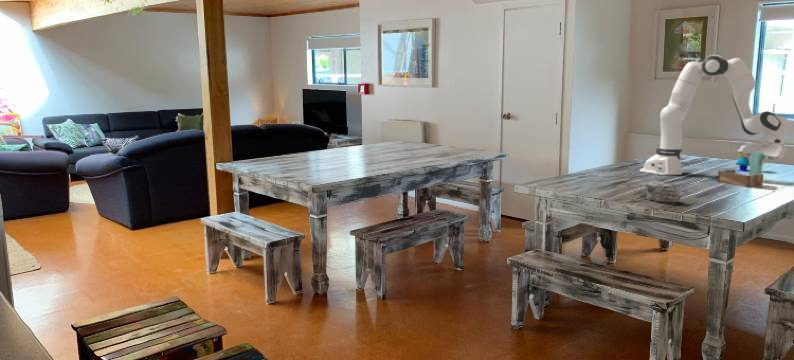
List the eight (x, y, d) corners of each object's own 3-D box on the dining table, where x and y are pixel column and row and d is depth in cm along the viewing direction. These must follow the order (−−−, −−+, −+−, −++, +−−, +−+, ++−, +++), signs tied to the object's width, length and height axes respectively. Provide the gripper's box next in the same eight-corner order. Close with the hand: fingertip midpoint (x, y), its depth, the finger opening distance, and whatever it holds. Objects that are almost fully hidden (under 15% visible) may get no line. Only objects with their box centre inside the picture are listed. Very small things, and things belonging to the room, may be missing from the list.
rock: (639, 199, 287) (644, 178, 284) (646, 195, 293) (651, 175, 290) (673, 210, 278) (679, 189, 274) (680, 206, 284) (685, 185, 280)
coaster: (755, 189, 310) (755, 187, 310) (759, 187, 317) (759, 185, 317) (773, 191, 305) (773, 189, 305) (777, 189, 312) (777, 187, 311)
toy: (754, 171, 360) (757, 146, 358) (737, 171, 362) (740, 145, 359) (749, 169, 369) (751, 144, 366) (733, 169, 370) (735, 143, 367)
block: (753, 174, 330) (756, 152, 327) (761, 175, 326) (763, 153, 324) (749, 175, 328) (751, 152, 325) (756, 176, 324) (758, 153, 322)
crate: (731, 181, 332) (733, 169, 331) (762, 186, 318) (763, 174, 316) (717, 183, 326) (718, 171, 325) (747, 189, 312) (748, 176, 311)
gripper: (747, 137, 336) (734, 156, 333) (786, 141, 318) (772, 162, 315) (751, 145, 339) (739, 164, 336) (790, 149, 321) (777, 170, 318)
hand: (755, 163), depth 325 cm, fingers closed on block, 4 cm apart
